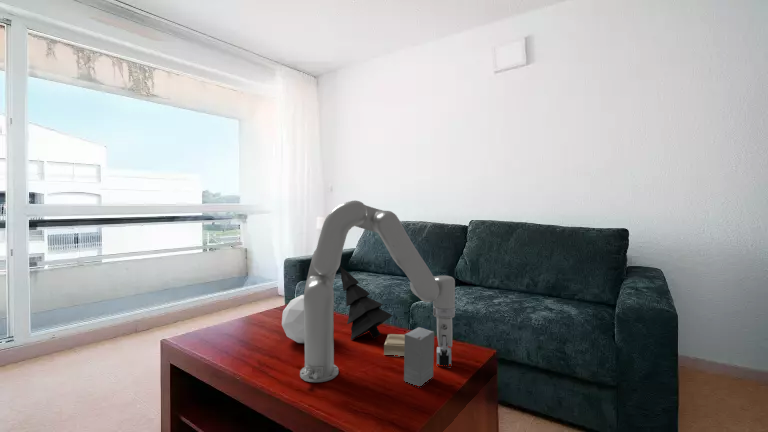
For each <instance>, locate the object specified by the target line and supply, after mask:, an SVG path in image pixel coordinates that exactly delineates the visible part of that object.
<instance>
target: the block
mask: <svg viewBox="0 0 768 432" xmlns="http://www.w3.org/2000/svg"><path fill="white" fill-rule="evenodd" d="M446 349H447V348H446ZM439 354H440V346H437V347H436V365H437V364H439ZM448 355H449V364H451V365H452V347H448Z"/></svg>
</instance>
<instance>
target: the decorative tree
mask: <svg viewBox="0 0 768 432" xmlns="http://www.w3.org/2000/svg"><path fill="white" fill-rule="evenodd" d="M339 268H340V279H341V283H342V290H343V292H345V297H346V299H345V300H346V302H345V303H346V307H349V309H348V319H347V323H346V325H349V324H351V329H350V330H351V335H350V341H352V340H355V339H357V338H359V337H361V336H363V335H364V333H365V334H367V333H370V335H371V337H372V339H373V340H374V339H376V338H377V337H379V336H382V335H381V332H380V330H379V329H378V327H379V326H380V325H382V324H383V323H384V322H386V321H387V320H390V318H391V317H393V314H391V313H389V312H387V311H385V310H383V309H382V308H381V307H382V306H383V305H384V304H383V303H381V302H379V301H377V300H375V299H374V298H371V297H369V295H370V292H368V291H367V290H366V289H365V288H363V287H362V286H360V285H358V284H359V283H360V281H358V280H357V279H356V278H355V277H354V276H353V275H352V274H351V273H350V272H348V271H347V270H346V269H344V266H342V265H341V264H340V266H339ZM368 331H369V332H368ZM366 332H367V333H366ZM358 336H359V337H358ZM356 337H357V338H356ZM354 338H355V339H354Z"/></svg>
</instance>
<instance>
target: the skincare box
mask: <svg viewBox="0 0 768 432" xmlns="http://www.w3.org/2000/svg"><path fill="white" fill-rule="evenodd" d="M404 335H405V350H404V357H403V358H404V360H403V361H404V363H403V382H404V381H405V382H404V383H406V382H408V383H407V384H409V383H410V384H409V385H411V384H413V385H412V386H414V385H417V386H422V385H423V384H424V383H425V382H427V381H428V380H429V379H431V378H432V377H433V378H434V363H435V361H434V359H435V358H434V357H435V331H434V330H430V329H426V328H424V327H419V326H418V327H416V328H415V329H412V330H410V331H408V332H406V333H404ZM433 378H432V379H433ZM432 379H431V380H432ZM428 382H429V381H428ZM428 382H427V383H428ZM424 385H425V384H424ZM424 385H423V386H424ZM423 386H422V387H423Z"/></svg>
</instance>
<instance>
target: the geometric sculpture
mask: <svg viewBox="0 0 768 432" xmlns="http://www.w3.org/2000/svg"><path fill="white" fill-rule="evenodd" d="M281 316H282V317H281V326H282V329H283V331H284V333H285V335H286V337H287V338H289V339H291V340H292V341H294V342H296V343H297V344H305V329H304V294H300V295H299V296H297V297H295V298H293V299H291V300H290V301H289V302H288V304H287V306H286V307H285V308H284V309H283V311H282V315H281Z"/></svg>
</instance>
